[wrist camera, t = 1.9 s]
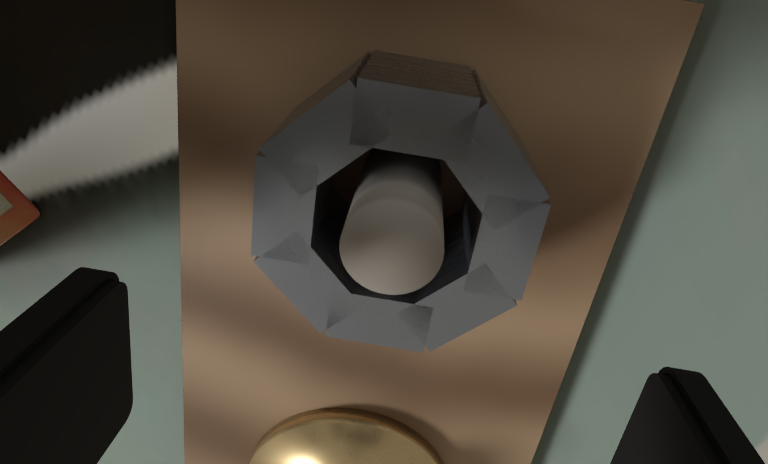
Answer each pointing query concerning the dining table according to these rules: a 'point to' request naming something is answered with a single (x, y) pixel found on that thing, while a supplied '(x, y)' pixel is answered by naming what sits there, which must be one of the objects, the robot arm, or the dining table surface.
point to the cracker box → (14, 210)
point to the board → (551, 109)
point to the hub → (343, 440)
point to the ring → (461, 229)
